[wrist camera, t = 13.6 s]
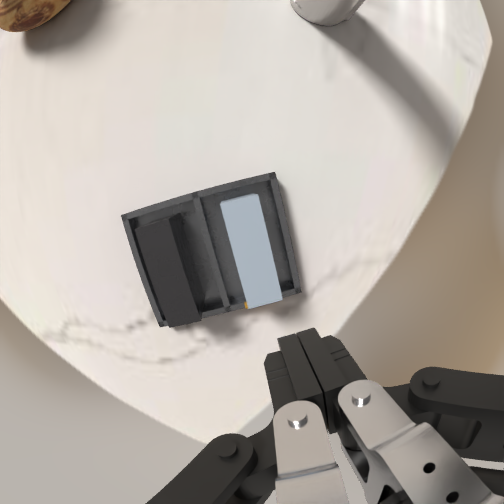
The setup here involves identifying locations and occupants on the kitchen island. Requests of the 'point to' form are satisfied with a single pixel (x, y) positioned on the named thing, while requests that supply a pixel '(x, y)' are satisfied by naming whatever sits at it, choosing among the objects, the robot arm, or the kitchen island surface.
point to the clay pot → (28, 13)
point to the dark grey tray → (203, 251)
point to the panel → (251, 249)
